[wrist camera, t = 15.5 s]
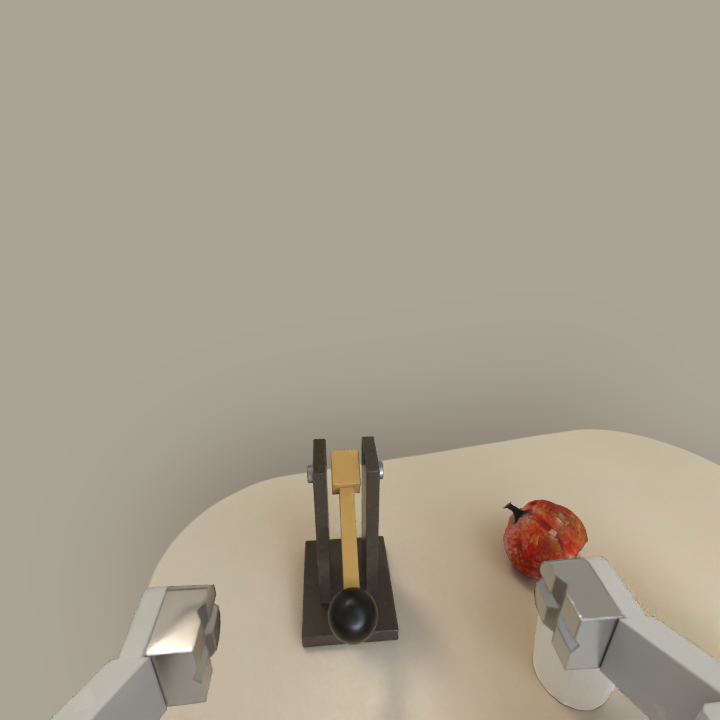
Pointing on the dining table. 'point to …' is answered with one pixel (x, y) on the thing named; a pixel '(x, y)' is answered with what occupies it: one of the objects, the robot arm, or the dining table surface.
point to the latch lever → (349, 558)
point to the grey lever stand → (327, 554)
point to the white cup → (567, 676)
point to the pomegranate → (542, 535)
